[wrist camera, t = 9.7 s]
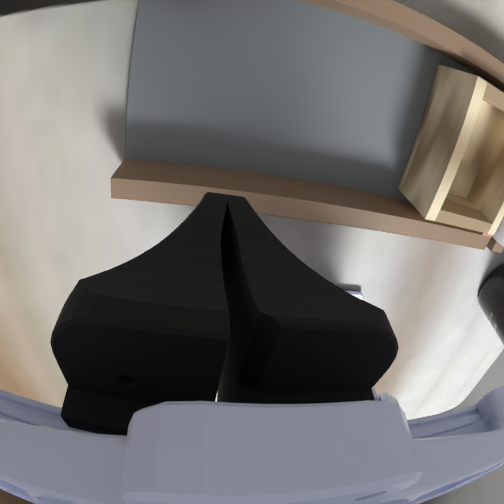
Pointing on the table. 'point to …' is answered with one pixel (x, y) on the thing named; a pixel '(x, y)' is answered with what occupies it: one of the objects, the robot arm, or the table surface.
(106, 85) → the table surface
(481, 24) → the table surface
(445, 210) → the crate
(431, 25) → the bay
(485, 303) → the supplement bottle
